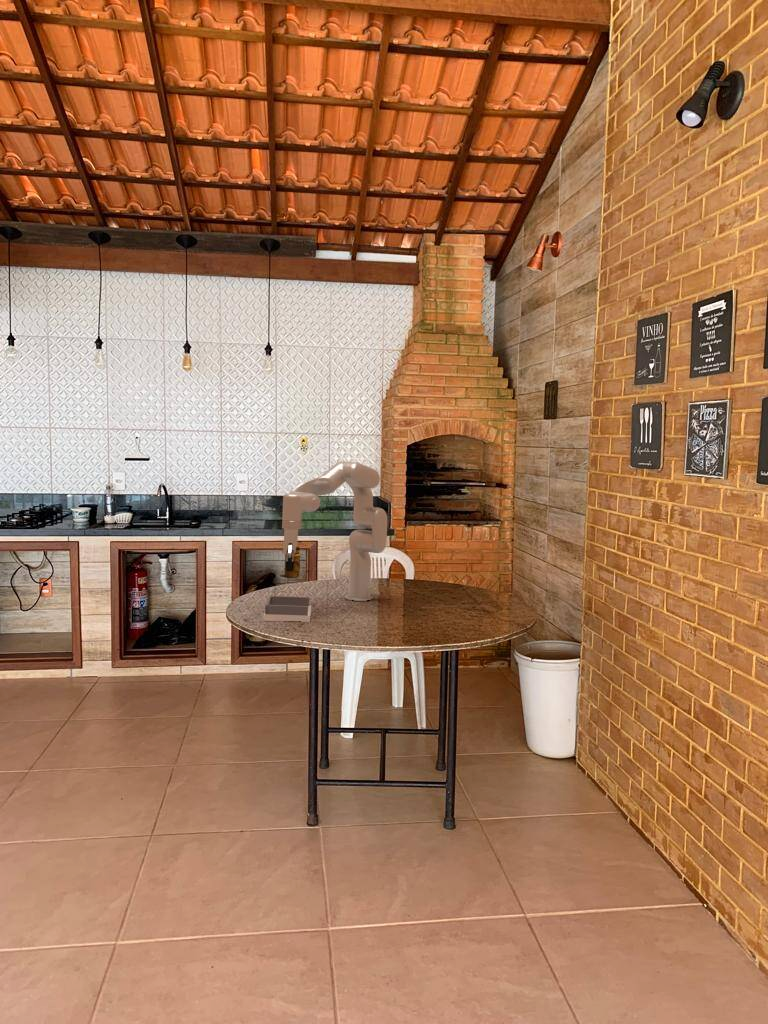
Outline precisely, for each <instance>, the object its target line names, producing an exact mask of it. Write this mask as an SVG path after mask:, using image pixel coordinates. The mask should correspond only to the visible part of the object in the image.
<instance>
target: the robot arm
mask: <svg viewBox="0 0 768 1024" xmlns="http://www.w3.org/2000/svg"><path fill="white" fill-rule="evenodd" d="M380 480H381V476H380V474H379V472H378V471H377V470H376V469H375V468H373V467H370V466H367V465H365V464H362V463H360V462H356V461H355V462H353V461H337V462H336V463H335V464H334V465H333V466H331V467H330V468H329V469H328V470H326V471H325V472H324V473H323V474H321V475H320V476H318V477H315V478H312V479H310V480H307V481H304V482H302V483H300V484H299V485H297V486H296V487H295V488H294V489H292V490H291V491H290V492H289V493H286V494H284V495H283V498H282V522H281V523H282V524H281V528H282V529H284V534H283V549H282V553H283V555H285V554H286V553H287V557H286V569H285V568H284V571H285V570H286V571H294V561H293V558H294V554H295V553H296V548H297V547H298V536H299V530H301V529H302V516H303V512H307V513H312V512H315V511H317V510H318V509H319V507H320V505H321V501H320V500H321V499H320V497H319V496H326V495H330V494H332V493H334V492H335V491H336V490H338V489H339V488H340V487H341V486H342V485H343V484H344V483H346V484H347V486H349V487H350V489H351V491H352V492H353V497H354V498H353V523H354V525H355V526H357V527H361V528H368V529H371V530H366V529H355V530H352V532H351V533H350V534H349V537H348V544H349V555H350V556H349V557H350V558H349V560H350V561H349V576H348V577H349V581H348V593H347V594H345V595H344V598H345V599H346V600H348V601H352V600H354V602H368V601H367V600H370V601H372V600H373V598H374V597H373V596H375V597H376V596H378V597H379V596H380V594H381V592H380V591H377V590H371V571H372V559H371V556H370V553H373V554H380V553H382V552H384V551H385V549H386V546H387V539H388V537H387V536H388V514H387V512H386V511H385V510H384V509H383V508H381V507H378V506H377V507H375V506H374V496H373V491H372V489H375V488H377V487H378V486H379V484H380V482H381V481H380ZM291 552H293V553H291ZM371 599H372V600H371Z"/></svg>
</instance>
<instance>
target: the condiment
mask: <svg viewBox="0 0 768 1024" xmlns="http://www.w3.org/2000/svg"><path fill="white" fill-rule="evenodd" d="M300 549H301V548H300V547H298V546H297V548H296V553H295V554H294V558H293V561H294V571H286V570H285V569H286V557H287V552H286V553H285V554H284V574H276V576H277V577H279V578H281V579H283V580H286V579H287V580H288V579H303V578H304V577H303V576H301V575H300V572H301V569H300V568H301V552H300ZM291 553H293V552H291Z"/></svg>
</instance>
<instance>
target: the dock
mask: <svg viewBox="0 0 768 1024" xmlns="http://www.w3.org/2000/svg"><path fill="white" fill-rule="evenodd" d="M263 612H264V613H263V617H262V621H263V622H284V621H301V622H300V623H310V622H311V617H310V616H311V615H312V605H310V596H309V597H308V596H286V595H285V596H282V595H268V597H267V599H266V603H265V604H264V611H263Z"/></svg>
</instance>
